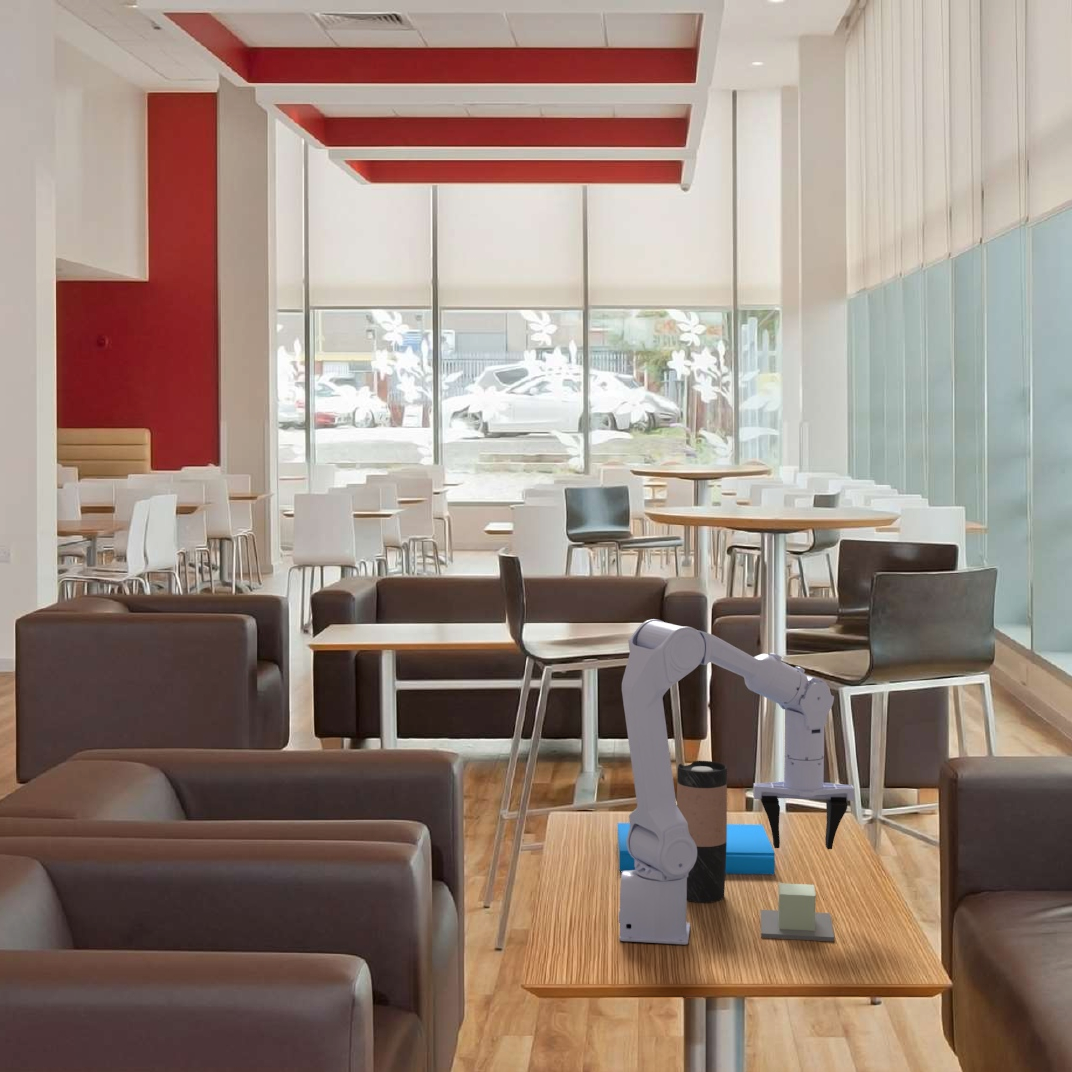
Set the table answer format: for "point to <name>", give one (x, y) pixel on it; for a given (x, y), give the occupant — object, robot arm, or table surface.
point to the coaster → (772, 930)
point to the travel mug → (705, 826)
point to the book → (743, 850)
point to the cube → (796, 906)
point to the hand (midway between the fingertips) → (802, 846)
